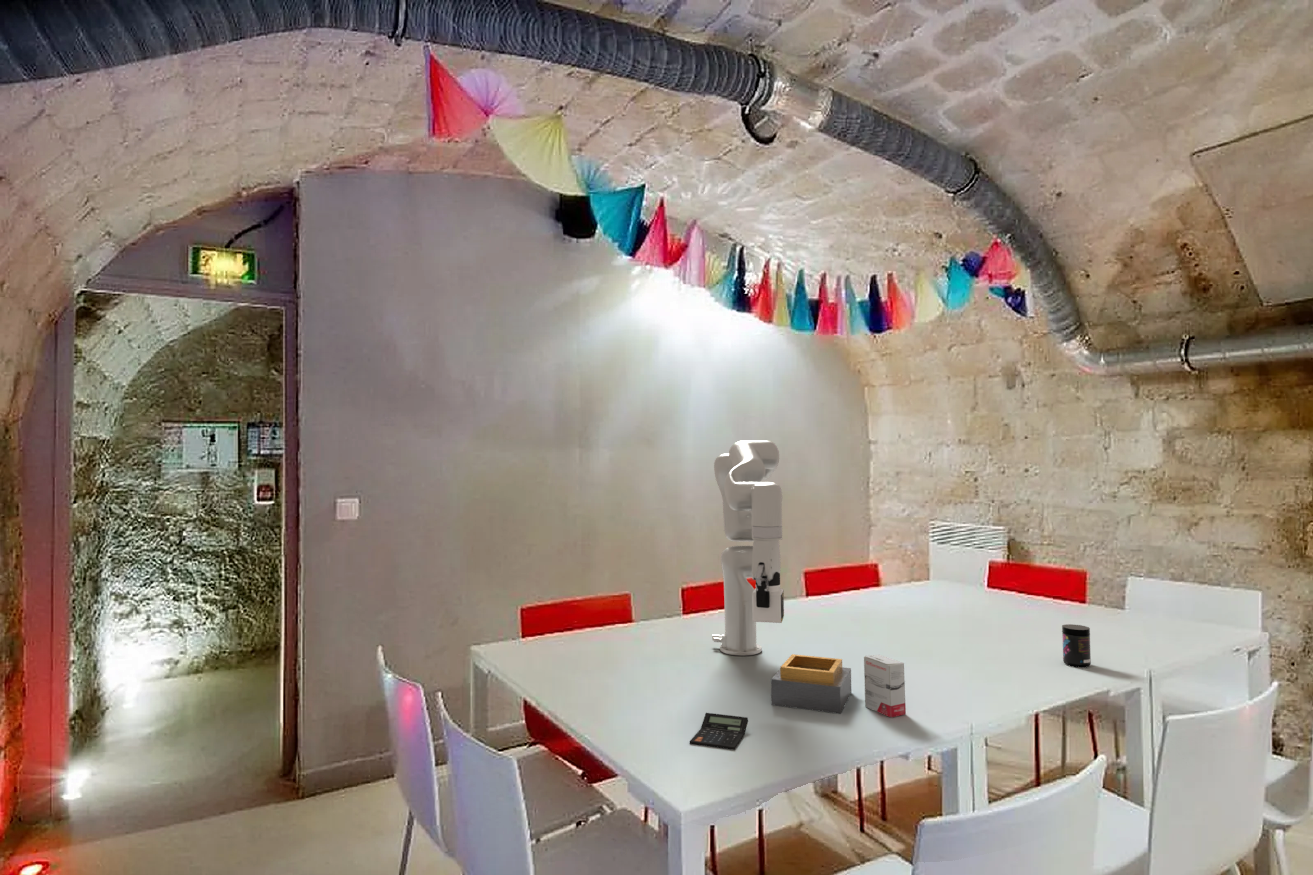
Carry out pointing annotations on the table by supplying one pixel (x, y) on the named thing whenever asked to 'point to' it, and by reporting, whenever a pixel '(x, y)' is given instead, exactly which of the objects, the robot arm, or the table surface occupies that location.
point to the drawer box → (812, 684)
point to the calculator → (721, 731)
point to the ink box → (884, 685)
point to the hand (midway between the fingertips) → (768, 603)
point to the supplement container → (1076, 645)
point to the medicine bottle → (776, 603)
